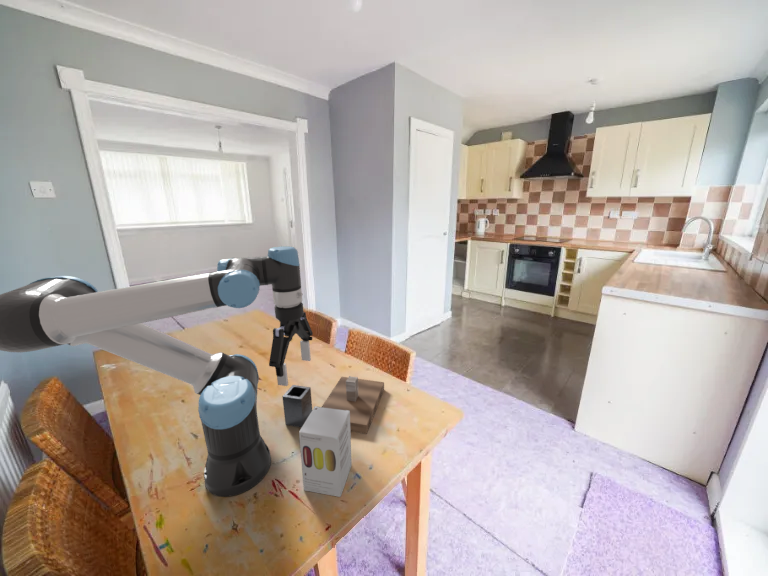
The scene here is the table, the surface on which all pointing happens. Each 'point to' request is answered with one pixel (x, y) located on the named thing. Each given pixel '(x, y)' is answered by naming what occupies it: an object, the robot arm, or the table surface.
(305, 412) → the hollow square tube
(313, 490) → the supplement box
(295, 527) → the table surface
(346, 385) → the tang block
